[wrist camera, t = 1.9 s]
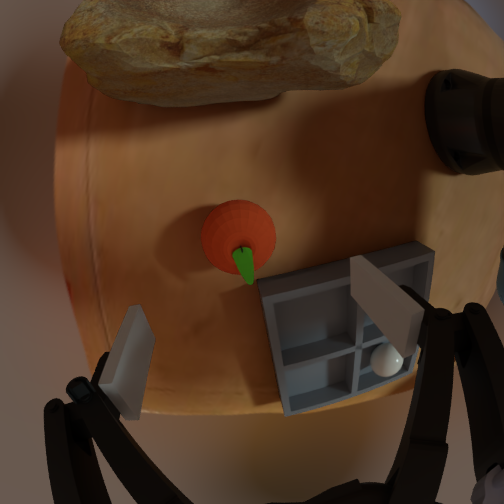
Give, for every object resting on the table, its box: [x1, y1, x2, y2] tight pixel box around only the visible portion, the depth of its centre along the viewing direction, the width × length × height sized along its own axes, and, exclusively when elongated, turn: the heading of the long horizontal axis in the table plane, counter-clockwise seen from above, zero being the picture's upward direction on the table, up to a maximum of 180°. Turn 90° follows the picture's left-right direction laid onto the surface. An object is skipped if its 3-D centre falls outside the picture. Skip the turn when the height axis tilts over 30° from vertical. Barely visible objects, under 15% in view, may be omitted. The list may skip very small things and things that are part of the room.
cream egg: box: [370, 343, 404, 377], centre depth 35 cm, size 5×5×5 cm
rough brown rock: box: [59, 0, 401, 107], centre depth 15 cm, size 23×17×15 cm
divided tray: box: [257, 241, 435, 416], centre depth 34 cm, size 22×22×4 cm
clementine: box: [201, 200, 276, 285], centre depth 26 cm, size 8×7×7 cm
